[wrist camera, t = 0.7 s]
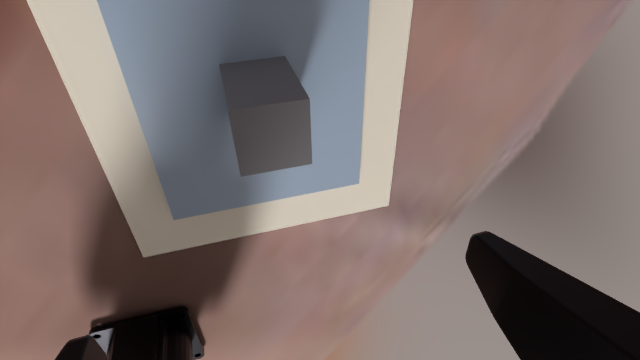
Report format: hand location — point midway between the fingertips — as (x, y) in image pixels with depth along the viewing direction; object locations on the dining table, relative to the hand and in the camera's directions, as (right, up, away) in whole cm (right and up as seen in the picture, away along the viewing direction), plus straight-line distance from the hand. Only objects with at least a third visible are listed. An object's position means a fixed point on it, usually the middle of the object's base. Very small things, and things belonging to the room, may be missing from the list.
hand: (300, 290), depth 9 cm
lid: (-3, +7, +10) cm, 13 cm away
